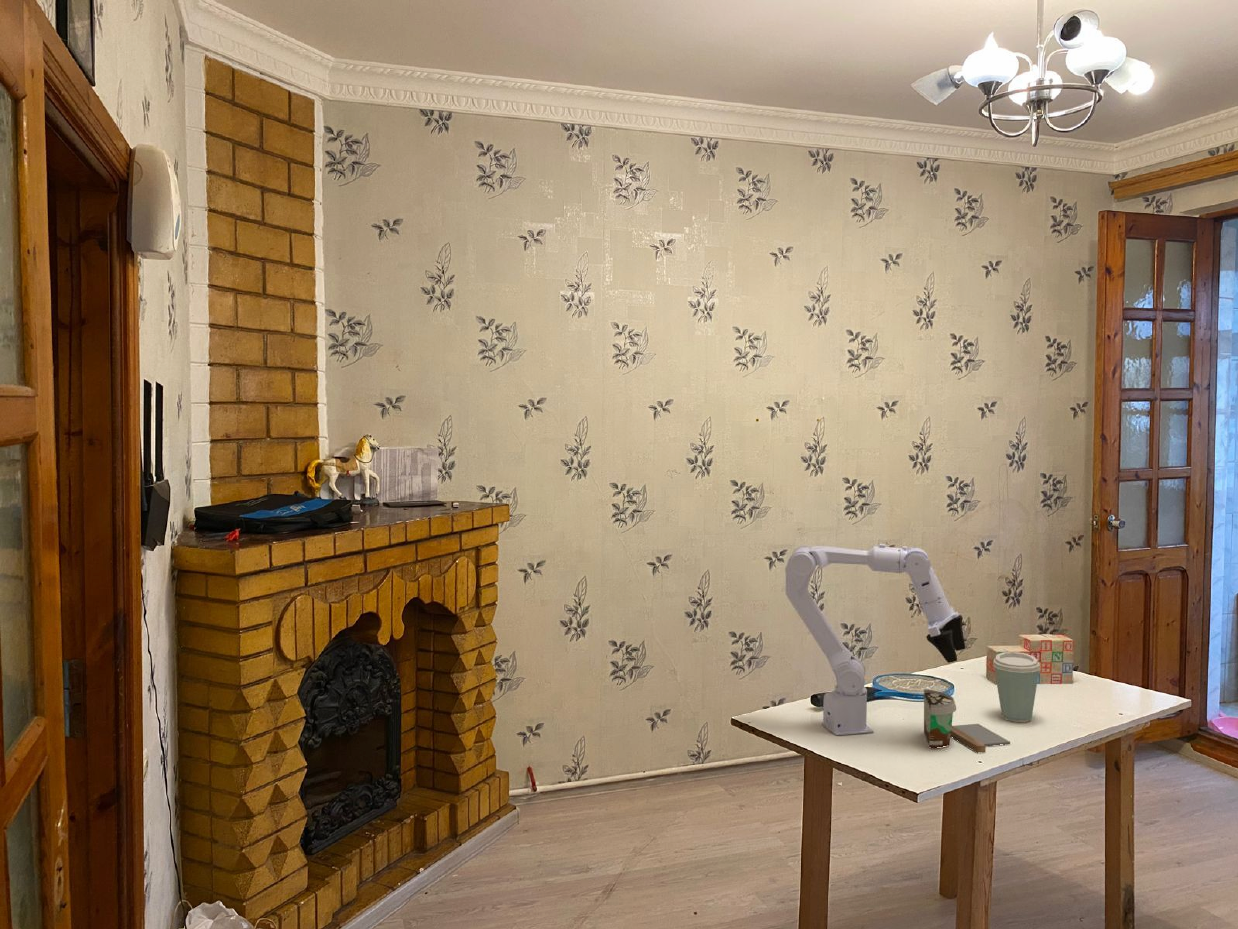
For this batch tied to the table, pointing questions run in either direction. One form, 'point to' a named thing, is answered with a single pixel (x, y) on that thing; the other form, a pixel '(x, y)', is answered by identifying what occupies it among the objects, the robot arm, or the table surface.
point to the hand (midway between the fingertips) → (956, 655)
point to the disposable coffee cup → (1016, 684)
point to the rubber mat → (982, 734)
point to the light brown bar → (967, 740)
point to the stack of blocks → (1040, 657)
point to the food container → (938, 717)
